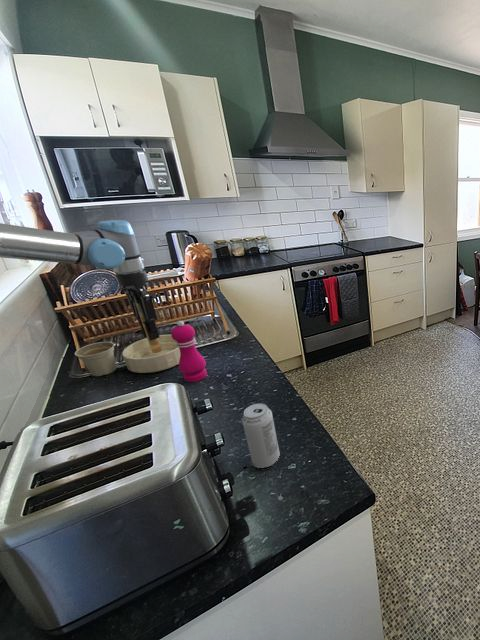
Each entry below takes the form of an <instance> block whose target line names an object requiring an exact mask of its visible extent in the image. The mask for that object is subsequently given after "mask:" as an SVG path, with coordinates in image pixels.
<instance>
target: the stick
mask: <svg viewBox="0 0 480 640" xmlns="http://www.w3.org/2000/svg"><path fill="white" fill-rule="evenodd" d="M134 301H135V300H134ZM138 301H139V300H138ZM135 304H136V307H137V309H138V312H139V315H140V318H141V321H142V324H143V322H144V321H145V320H144V317H143V315H142V312H141V310H140V307H139V305H138V303H136V302H135ZM143 327H144V330H145V333H146V336H147V339H148V342H149V345H150V348H151V351H152V353H158V352H161V351H162V349H161V346H160V343H159V340H158V338H157V339H154V340H150V339H149V336H148V333H147V330H146V327H145V324H143Z"/></svg>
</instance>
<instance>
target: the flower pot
mask: <svg viewBox="0 0 480 640" xmlns="http://www.w3.org/2000/svg"><path fill="white" fill-rule="evenodd" d="M114 351H115V342H112V341H99V342H94V343H90V344H87V345H84V346H82V347H80V348H78V349H77V350H76V351H75V352H74V356H76V357H77V358H78V359H80V360H81V362H82V364H84V366H85V367H86V368H87V370H88V372H89V373H90V374H91V376H92V377H102V376H104V375H106V376H108V375H109V374H111V373H114V372H115V371H116V370H117V363H116V358H115V352H114Z"/></svg>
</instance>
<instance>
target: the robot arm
mask: <svg viewBox="0 0 480 640" xmlns="http://www.w3.org/2000/svg"><path fill="white" fill-rule="evenodd" d="M134 232H135V231H134V230H133V227H132V226H131V223H130V222H129V221H127V220H125V219H124V220H123V219H109V220H108V219H107V220H101V221H99V222H98V223H97V229H92V230H84V231H83V230H81V231H71V232H61V231H57V230H50V229H42V228H35V227H29V226H22V225H14V224H9V223H1V222H0V258H3V259H14V260H25V261H37V262H49V263H59V264H60V263H61V264H72V265H81V266H91V267H97V268H98V269H99V268H100V269H108V270H109V269H110V270H111V269H112V270H113V272H114V273H115V278H116V281H117V283H118V285H119V286H121V287H123V288H122V291H123V293H124V294H125V296H126V299H127V301H128V303H129V307H130V309H131V311H132V314H133V317H136V319H137V320H138V322H139V326H140V328H141V331H142V334H143V337H144V339H146V338H147V336H146V333H145V330H144V327H143V324H145V327H146V330H147V333H148V336H149V339H150V340H154V339H157V338H160V337H159V335H160V333H159V331H158V327H157V325H156V321H158V316H157V312H156V308H155V305H154V301H153V294H152V293H148V290H147V288H146V287H145V285H144V284H146V283H148V282H149V278H148V274H147V270H145V265H144V257H142V256H141V253H140V249H139V246H138V242H137V239H136V234H135V233H134ZM134 300H135V301H134ZM138 300H139V301H138ZM135 302H136V303H138V305H139V307H140V310H141V312H142V315H143V317H144V320H145V321H144V322H143V324H142V321H141V318H140V315H139V312H138V309H137V307H136V304H135Z"/></svg>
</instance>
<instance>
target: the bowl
mask: <svg viewBox="0 0 480 640" xmlns="http://www.w3.org/2000/svg"><path fill="white" fill-rule="evenodd" d="M159 337H160V338H158V340H159V343H160V346H161V349H162V351H161V352H158V353H152V351H151V348H150V345H149V342H148V339H147V338H143V339H140V340H136V341H135V342H133V343H130V344H129V345H127V346H126V347H125V348H124V349H123V351H122V352H121V353H122V358H123V360H124V363H125V366H126V368H127V370H128V371H130V372H131V373H138V374H150V373H156V372H161V371H165V370H168V369H171V368H173V367H176V366H177V365H179V360H180V349H179V347H177V344H176V341H175V340H174V339H173V338H172V336H171V333H170V334H159Z"/></svg>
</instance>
